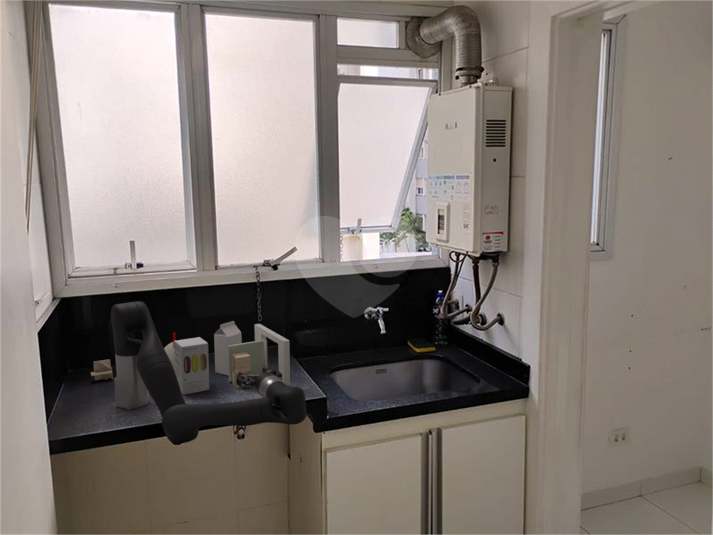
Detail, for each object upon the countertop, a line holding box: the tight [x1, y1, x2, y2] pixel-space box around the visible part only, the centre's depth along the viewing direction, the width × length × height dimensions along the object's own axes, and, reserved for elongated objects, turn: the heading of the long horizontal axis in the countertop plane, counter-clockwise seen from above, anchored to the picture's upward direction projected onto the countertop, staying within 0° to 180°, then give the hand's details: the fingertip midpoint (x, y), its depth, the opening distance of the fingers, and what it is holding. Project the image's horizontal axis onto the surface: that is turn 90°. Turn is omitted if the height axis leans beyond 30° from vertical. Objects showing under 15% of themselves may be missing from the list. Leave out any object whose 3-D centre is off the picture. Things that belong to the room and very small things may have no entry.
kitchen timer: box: [164, 332, 177, 371], centre depth 211 cm, size 14×14×15 cm
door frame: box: [254, 323, 291, 386], centre depth 202 cm, size 26×2×18 cm, turn 32°
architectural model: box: [90, 359, 114, 381], centre depth 203 cm, size 3×7×7 cm, turn 121°
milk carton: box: [213, 320, 243, 377], centre depth 211 cm, size 7×7×19 cm
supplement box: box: [174, 336, 210, 396], centre depth 195 cm, size 10×9×17 cm
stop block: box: [232, 352, 252, 390], centre depth 198 cm, size 5×5×11 cm
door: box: [228, 339, 269, 382], centre depth 205 cm, size 15×3×13 cm, turn 122°
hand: (251, 372), depth 190 cm, fingers open, 8 cm apart
